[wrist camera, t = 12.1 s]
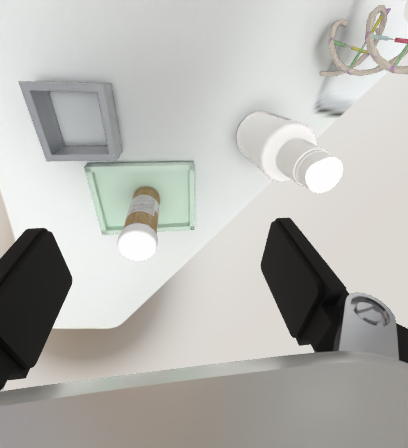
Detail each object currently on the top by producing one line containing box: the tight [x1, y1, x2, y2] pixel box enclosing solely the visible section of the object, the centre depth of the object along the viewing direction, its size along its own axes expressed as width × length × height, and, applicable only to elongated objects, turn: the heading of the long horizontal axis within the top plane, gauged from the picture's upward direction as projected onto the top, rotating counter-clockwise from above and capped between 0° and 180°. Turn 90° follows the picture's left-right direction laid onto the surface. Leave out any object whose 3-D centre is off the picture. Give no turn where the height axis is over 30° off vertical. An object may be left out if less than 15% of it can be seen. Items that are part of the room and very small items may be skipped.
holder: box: [18, 81, 122, 161], centre depth 29 cm, size 9×9×4 cm
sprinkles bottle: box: [117, 186, 160, 261], centre depth 32 cm, size 5×5×14 cm
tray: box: [84, 161, 195, 235], centre depth 37 cm, size 12×16×2 cm
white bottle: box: [236, 111, 343, 193], centre depth 27 cm, size 7×7×18 cm
